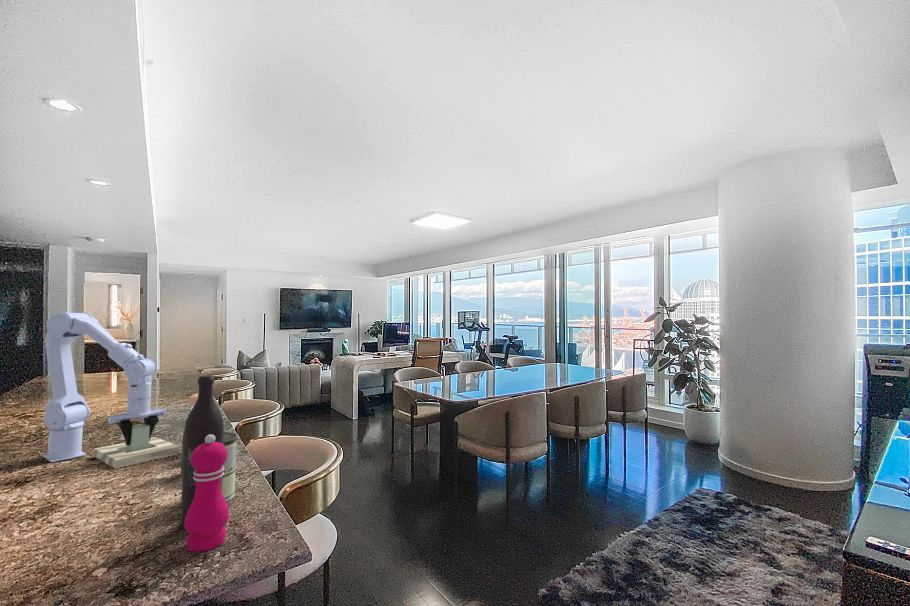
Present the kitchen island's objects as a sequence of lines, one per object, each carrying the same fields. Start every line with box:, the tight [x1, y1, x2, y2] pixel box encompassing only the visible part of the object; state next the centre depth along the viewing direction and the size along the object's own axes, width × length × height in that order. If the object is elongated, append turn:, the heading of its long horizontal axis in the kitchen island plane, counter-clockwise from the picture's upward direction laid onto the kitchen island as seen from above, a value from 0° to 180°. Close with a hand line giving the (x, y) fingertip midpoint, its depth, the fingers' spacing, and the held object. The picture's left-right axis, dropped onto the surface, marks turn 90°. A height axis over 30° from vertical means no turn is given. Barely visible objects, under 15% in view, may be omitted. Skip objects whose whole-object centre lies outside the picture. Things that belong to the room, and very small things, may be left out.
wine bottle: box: [180, 374, 225, 531], centre depth 85 cm, size 7×7×30 cm
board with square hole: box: [93, 436, 180, 470], centre depth 127 cm, size 18×16×2 cm
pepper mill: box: [184, 434, 230, 553], centre depth 78 cm, size 7×7×20 cm
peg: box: [126, 423, 150, 453], centre depth 127 cm, size 4×4×8 cm
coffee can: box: [222, 431, 238, 503], centre depth 97 cm, size 10×10×14 cm
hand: (137, 442), depth 127 cm, fingers closed on peg, 4 cm apart
